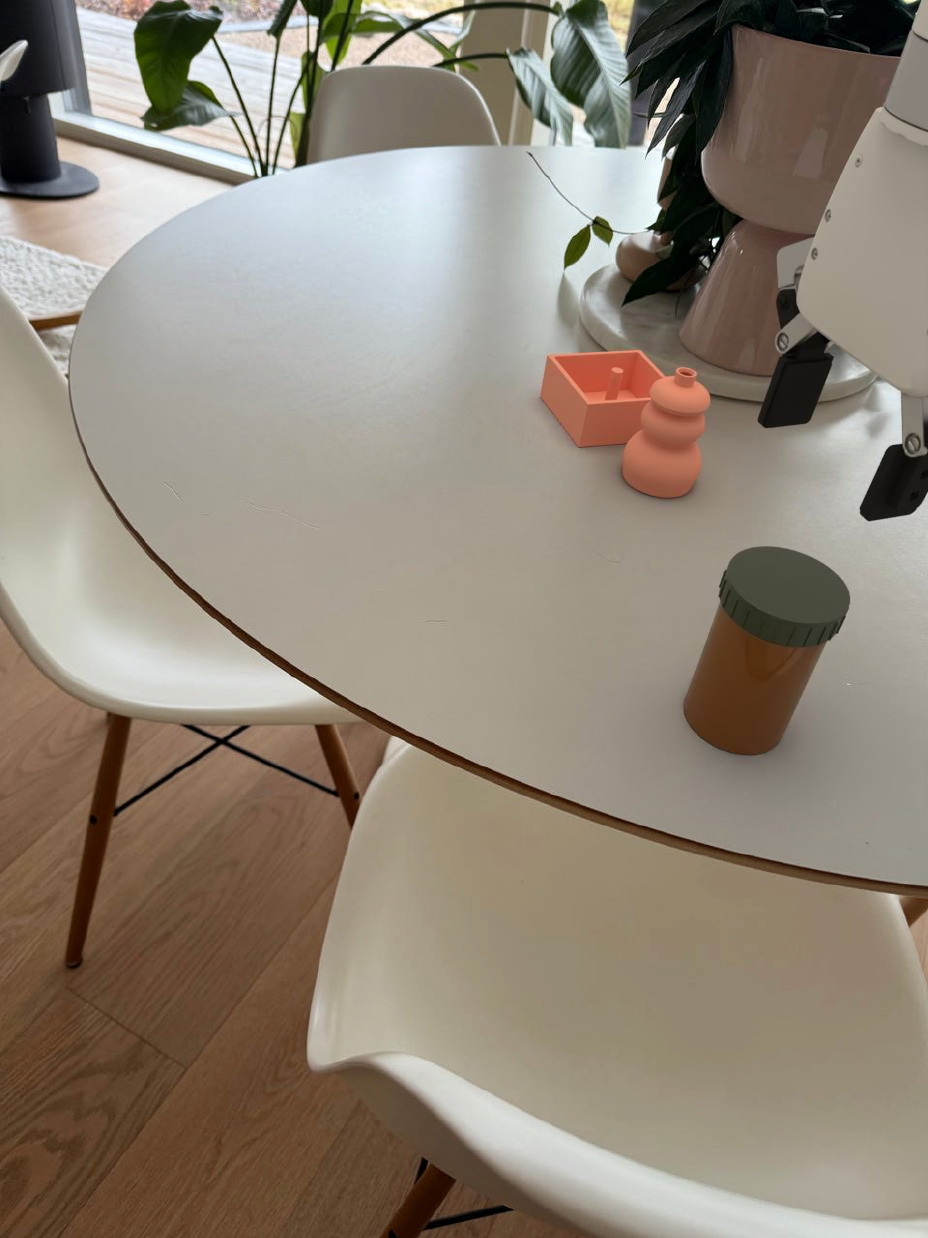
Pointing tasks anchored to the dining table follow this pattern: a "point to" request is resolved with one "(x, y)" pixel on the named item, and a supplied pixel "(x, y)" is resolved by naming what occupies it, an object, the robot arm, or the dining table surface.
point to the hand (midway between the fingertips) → (831, 465)
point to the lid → (784, 596)
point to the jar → (746, 688)
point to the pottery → (631, 414)
